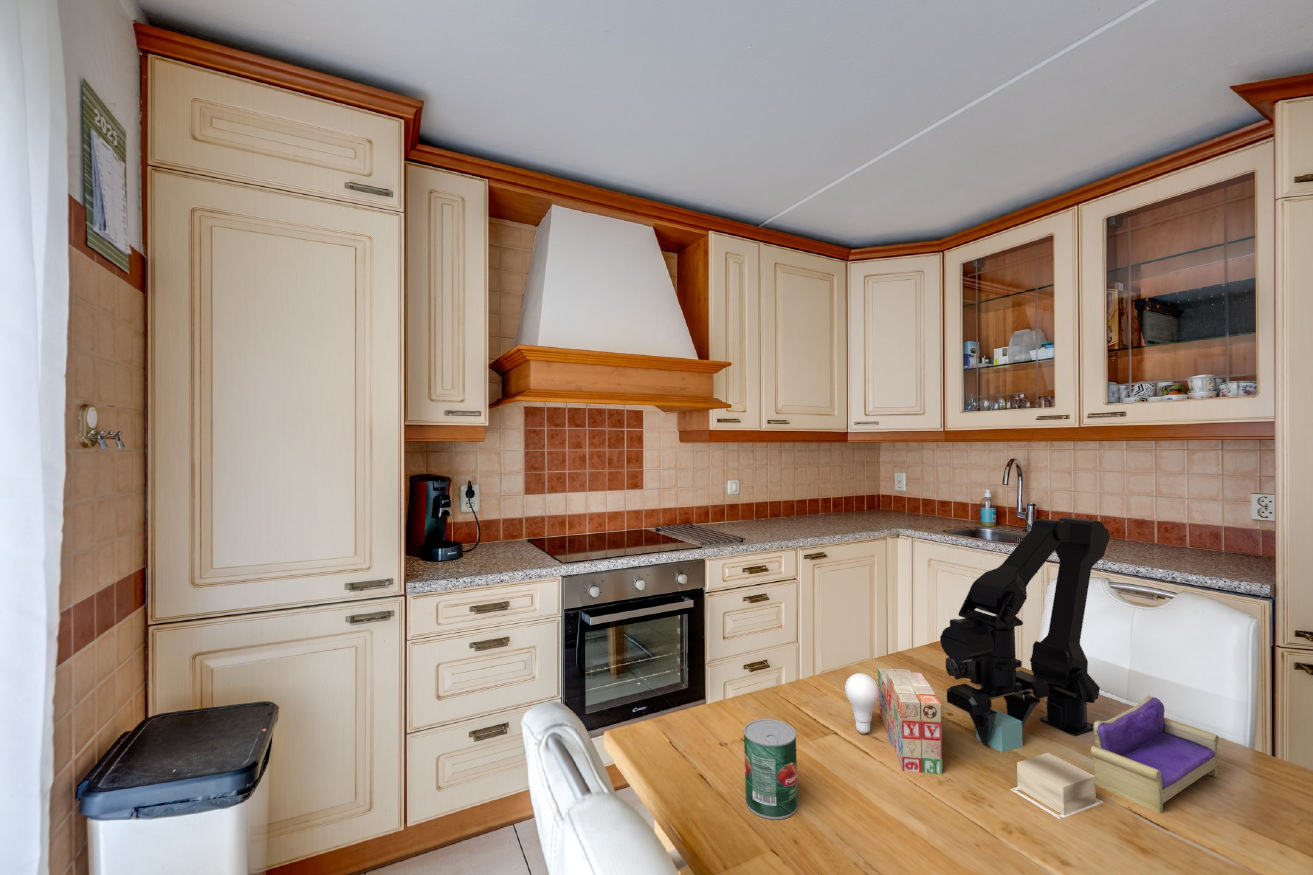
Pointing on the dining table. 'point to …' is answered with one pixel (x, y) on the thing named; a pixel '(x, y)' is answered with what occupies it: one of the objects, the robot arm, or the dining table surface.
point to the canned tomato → (770, 769)
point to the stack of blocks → (911, 719)
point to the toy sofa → (1150, 755)
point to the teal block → (1005, 733)
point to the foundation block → (1056, 783)
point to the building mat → (1051, 811)
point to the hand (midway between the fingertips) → (999, 739)
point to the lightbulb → (862, 699)
